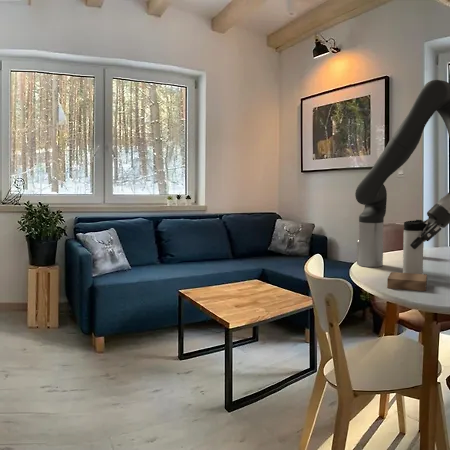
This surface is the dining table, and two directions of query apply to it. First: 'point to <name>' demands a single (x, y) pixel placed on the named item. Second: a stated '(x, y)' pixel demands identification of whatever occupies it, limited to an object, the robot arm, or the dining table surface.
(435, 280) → the dining table surface
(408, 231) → the travel mug
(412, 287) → the walnut stand
